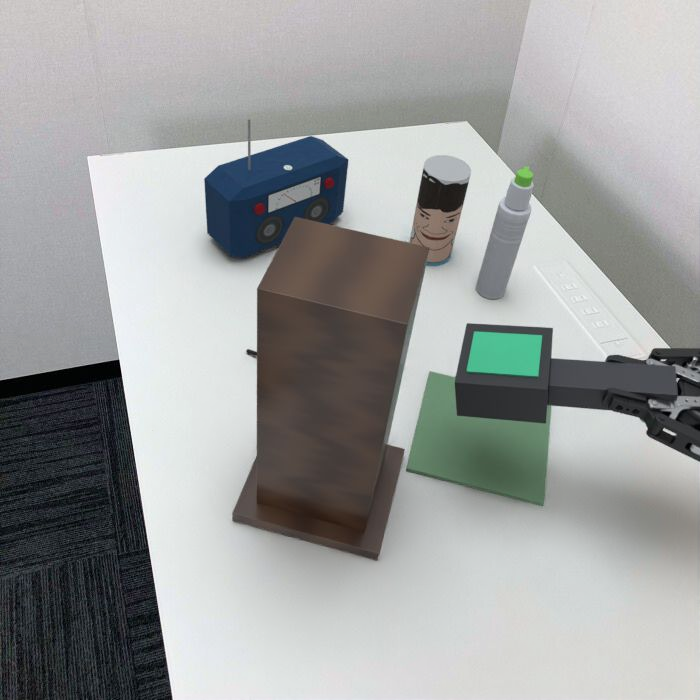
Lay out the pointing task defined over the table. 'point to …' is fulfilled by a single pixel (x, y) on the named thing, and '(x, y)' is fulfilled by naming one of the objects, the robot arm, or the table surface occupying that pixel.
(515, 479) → the mat
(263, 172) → the radio
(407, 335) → the stand
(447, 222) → the printed can
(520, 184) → the bottle
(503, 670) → the table surface
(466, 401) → the green-topped block with handle
